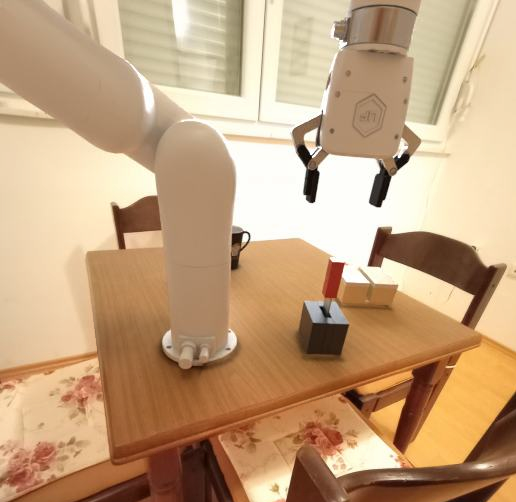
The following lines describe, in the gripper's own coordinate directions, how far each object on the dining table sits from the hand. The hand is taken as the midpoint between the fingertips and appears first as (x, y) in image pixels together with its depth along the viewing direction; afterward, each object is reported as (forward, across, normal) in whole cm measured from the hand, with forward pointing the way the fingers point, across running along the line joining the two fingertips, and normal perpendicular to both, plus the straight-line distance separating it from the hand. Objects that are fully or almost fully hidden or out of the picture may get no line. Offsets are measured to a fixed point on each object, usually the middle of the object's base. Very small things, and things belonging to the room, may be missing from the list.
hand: (342, 203), depth 45 cm
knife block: (+24, 0, -2) cm, 24 cm away
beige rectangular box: (+24, +16, +20) cm, 35 cm away
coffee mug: (+24, -15, +38) cm, 47 cm away
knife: (+23, 0, -2) cm, 23 cm away
